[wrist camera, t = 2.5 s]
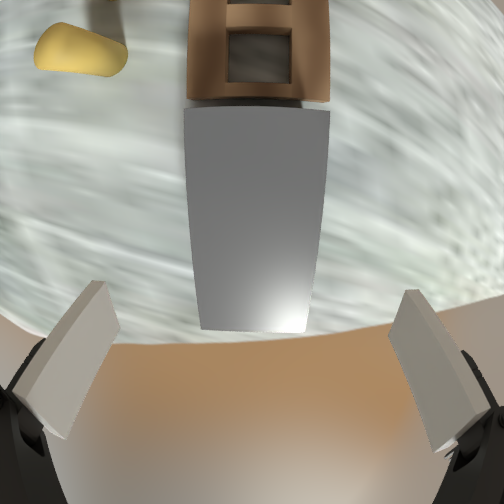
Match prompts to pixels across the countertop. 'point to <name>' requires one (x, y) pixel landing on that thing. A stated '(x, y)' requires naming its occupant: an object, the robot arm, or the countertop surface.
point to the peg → (79, 51)
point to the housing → (255, 213)
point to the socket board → (259, 22)
